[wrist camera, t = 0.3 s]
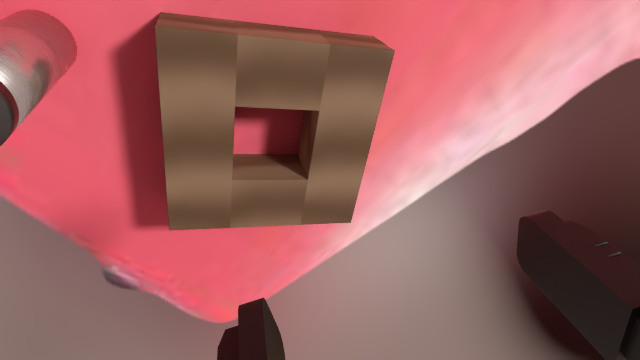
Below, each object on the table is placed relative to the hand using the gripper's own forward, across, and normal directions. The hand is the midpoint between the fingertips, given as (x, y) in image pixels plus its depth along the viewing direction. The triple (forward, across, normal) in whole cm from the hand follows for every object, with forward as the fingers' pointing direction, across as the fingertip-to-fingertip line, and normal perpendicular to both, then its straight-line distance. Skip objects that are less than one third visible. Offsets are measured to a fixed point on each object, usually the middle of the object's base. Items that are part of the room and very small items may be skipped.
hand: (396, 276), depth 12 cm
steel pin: (+21, +15, -7) cm, 27 cm away
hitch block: (+22, +3, +3) cm, 22 cm away
